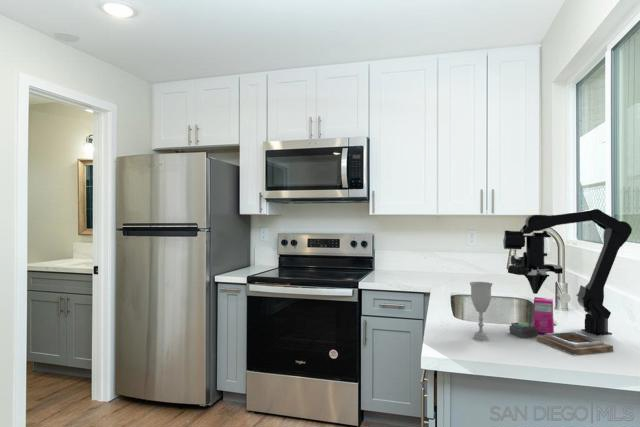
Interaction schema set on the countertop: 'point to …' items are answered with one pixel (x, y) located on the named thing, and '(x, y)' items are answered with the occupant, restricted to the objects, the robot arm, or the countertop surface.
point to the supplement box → (543, 315)
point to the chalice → (481, 305)
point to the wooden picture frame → (584, 347)
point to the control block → (523, 330)
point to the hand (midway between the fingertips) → (535, 293)
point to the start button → (523, 324)
